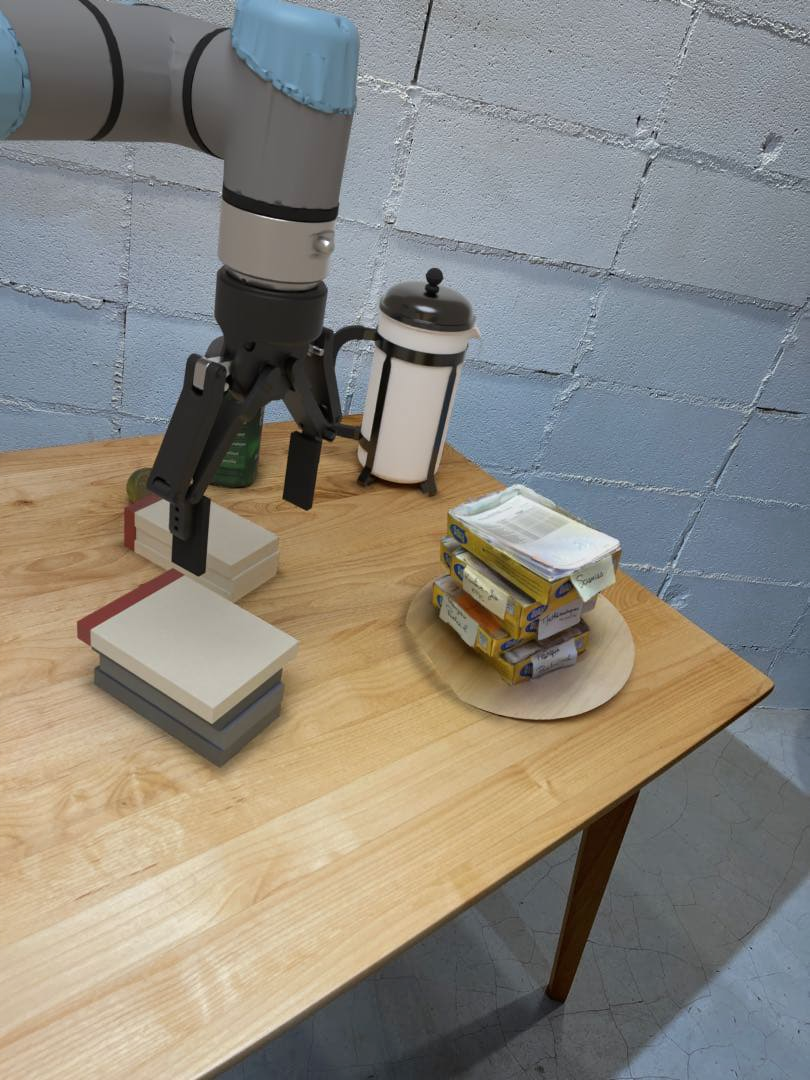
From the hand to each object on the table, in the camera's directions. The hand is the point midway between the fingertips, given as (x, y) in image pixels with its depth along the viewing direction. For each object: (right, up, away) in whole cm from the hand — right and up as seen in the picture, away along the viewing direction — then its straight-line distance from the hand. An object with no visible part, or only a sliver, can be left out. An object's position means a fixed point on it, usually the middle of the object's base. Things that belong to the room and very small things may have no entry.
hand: (246, 533), depth 66 cm
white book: (-6, -10, +4) cm, 12 cm away
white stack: (-10, -3, +26) cm, 28 cm away
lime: (-19, +4, +34) cm, 39 cm away
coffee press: (+10, +9, +52) cm, 54 cm away
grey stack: (-7, -15, +8) cm, 19 cm away
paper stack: (+25, -12, +24) cm, 37 cm away
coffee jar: (-11, +8, +44) cm, 46 cm away
